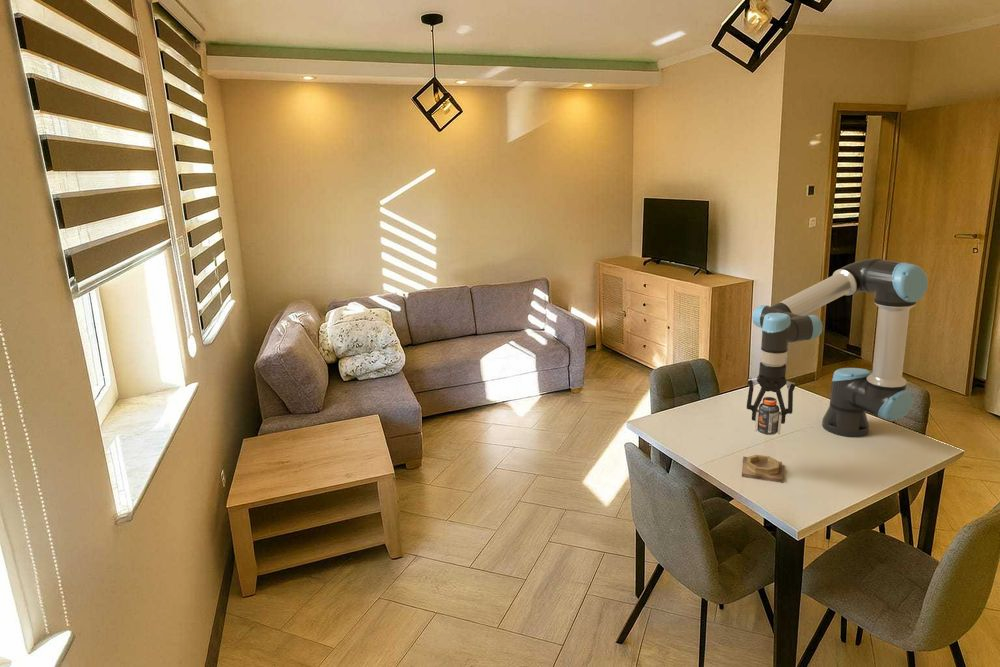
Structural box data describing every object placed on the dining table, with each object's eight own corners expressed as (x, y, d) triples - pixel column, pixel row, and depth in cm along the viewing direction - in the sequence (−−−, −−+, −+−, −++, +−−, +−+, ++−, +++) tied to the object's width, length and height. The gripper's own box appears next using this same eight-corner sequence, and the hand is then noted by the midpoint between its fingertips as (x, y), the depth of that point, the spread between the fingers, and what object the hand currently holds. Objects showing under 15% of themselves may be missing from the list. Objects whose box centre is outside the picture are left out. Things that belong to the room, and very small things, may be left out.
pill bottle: (753, 428, 197) (756, 396, 194) (771, 426, 198) (773, 394, 195) (763, 436, 192) (765, 403, 188) (781, 434, 192) (784, 401, 189)
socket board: (781, 465, 202) (782, 456, 201) (782, 482, 192) (783, 473, 191) (743, 459, 207) (743, 451, 206) (741, 476, 196) (742, 467, 195)
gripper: (806, 361, 188) (799, 429, 194) (740, 356, 195) (736, 422, 202) (807, 369, 181) (800, 439, 188) (739, 364, 188) (735, 432, 195)
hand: (767, 430), depth 195 cm, fingers closed on pill bottle, 6 cm apart
